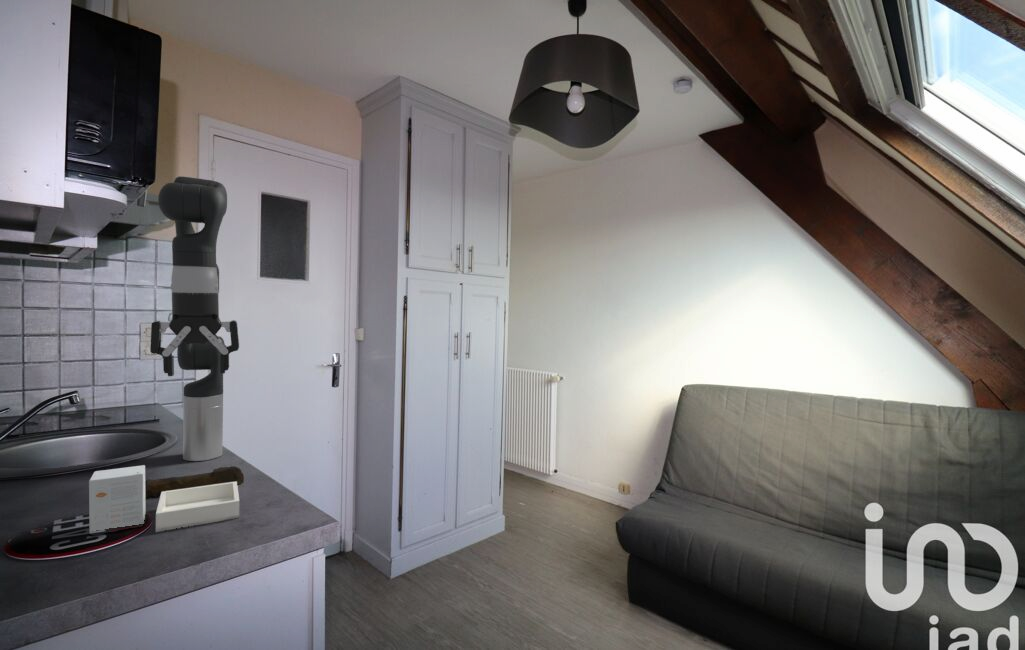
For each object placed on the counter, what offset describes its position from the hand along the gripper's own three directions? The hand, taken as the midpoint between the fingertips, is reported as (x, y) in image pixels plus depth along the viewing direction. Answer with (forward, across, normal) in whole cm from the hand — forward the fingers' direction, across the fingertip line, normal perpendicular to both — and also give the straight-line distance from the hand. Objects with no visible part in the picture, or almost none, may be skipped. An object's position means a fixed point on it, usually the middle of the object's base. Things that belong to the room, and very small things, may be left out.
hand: (197, 374), depth 95 cm
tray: (+29, 0, -3) cm, 29 cm away
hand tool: (+30, +3, -18) cm, 35 cm away
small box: (+29, +14, -2) cm, 32 cm away
